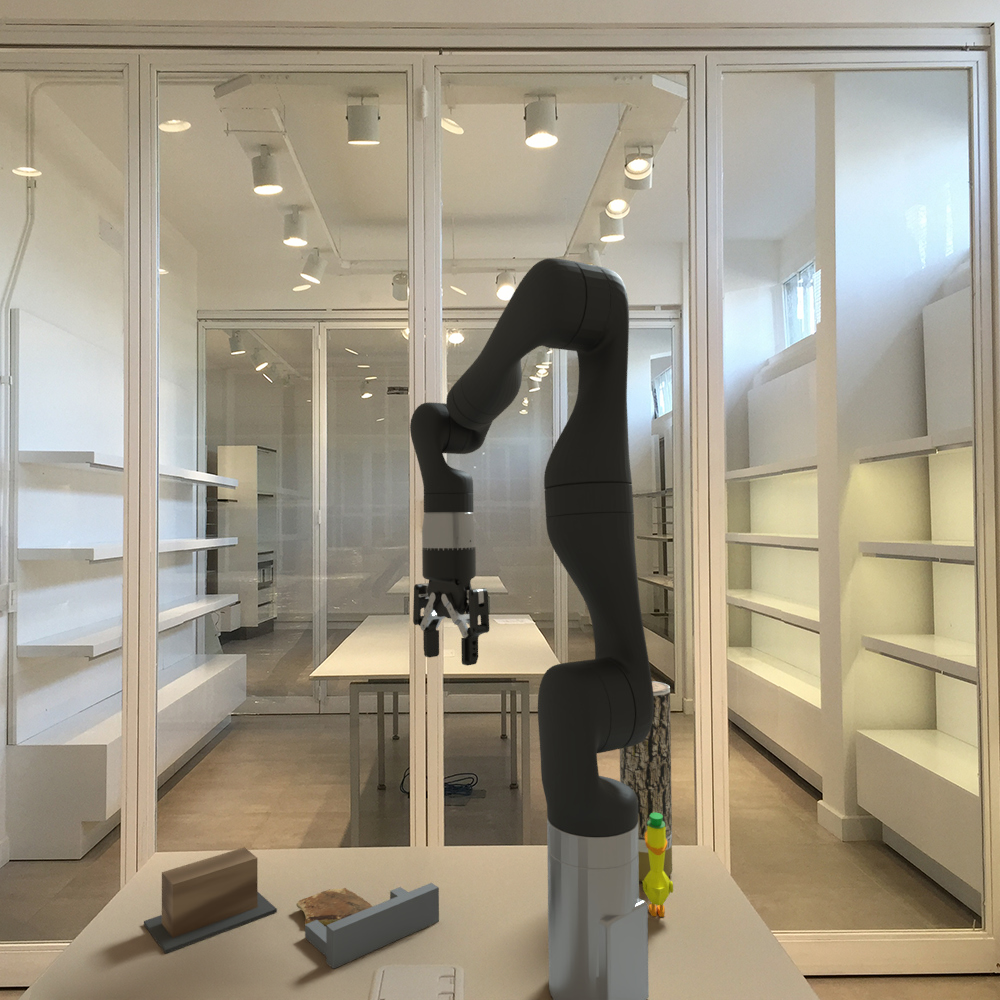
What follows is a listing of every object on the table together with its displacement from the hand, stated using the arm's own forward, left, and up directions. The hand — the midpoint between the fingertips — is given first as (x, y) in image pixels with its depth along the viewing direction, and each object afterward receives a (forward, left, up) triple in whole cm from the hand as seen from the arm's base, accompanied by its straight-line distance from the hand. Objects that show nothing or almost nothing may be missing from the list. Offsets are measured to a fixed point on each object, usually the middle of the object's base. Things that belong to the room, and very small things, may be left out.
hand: (449, 660), depth 105 cm
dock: (-8, +18, -28) cm, 34 cm away
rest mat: (+8, +31, -28) cm, 42 cm away
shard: (-2, +18, -29) cm, 34 cm away
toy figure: (-27, -10, -28) cm, 41 cm away
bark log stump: (-20, -17, -28) cm, 39 cm away
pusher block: (+8, +31, -28) cm, 42 cm away
